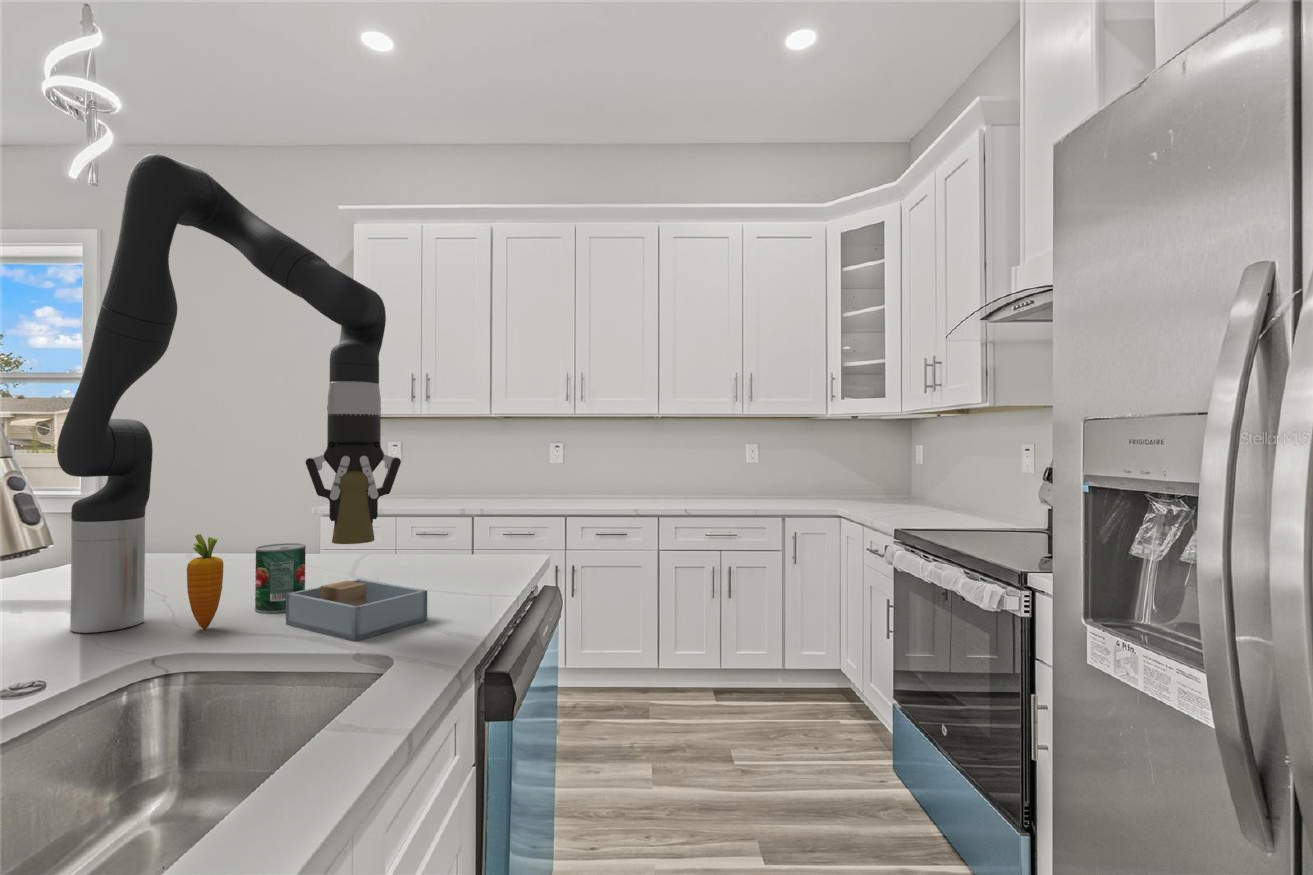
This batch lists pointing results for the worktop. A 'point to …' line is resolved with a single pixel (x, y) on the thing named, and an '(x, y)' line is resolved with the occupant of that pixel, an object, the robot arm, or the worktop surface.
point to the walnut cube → (345, 592)
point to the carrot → (204, 582)
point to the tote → (358, 611)
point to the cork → (353, 510)
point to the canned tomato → (278, 575)
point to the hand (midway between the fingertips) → (353, 522)
